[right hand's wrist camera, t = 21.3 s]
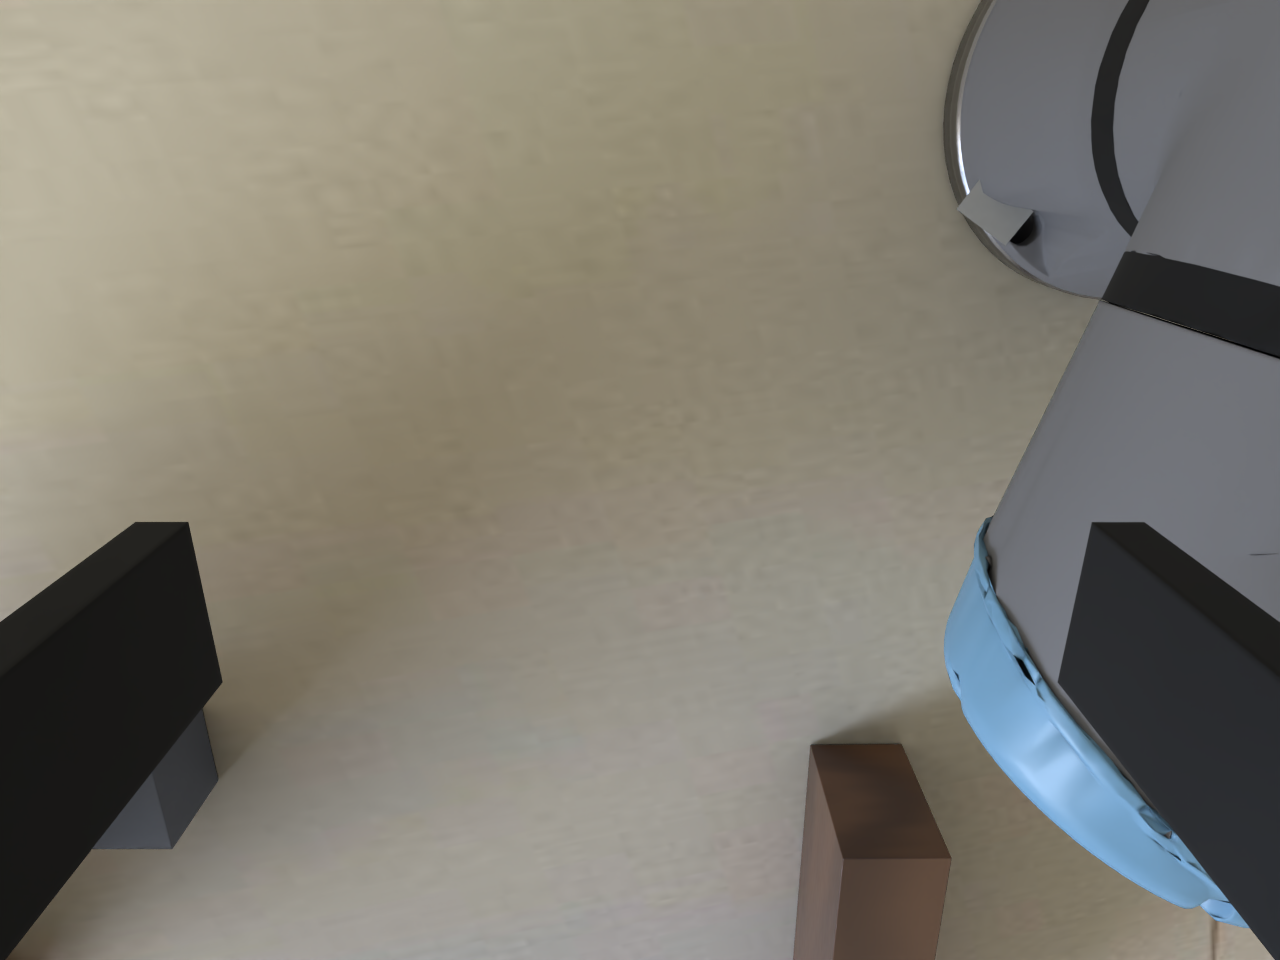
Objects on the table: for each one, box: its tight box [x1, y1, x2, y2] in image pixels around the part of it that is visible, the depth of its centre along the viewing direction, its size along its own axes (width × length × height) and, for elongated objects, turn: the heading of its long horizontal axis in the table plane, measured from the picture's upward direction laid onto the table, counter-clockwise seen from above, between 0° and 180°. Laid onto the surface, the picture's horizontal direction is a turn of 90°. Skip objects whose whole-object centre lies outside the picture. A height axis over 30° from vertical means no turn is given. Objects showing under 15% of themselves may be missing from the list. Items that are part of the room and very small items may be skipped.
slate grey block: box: [92, 709, 218, 849], centre depth 44 cm, size 5×5×5 cm
